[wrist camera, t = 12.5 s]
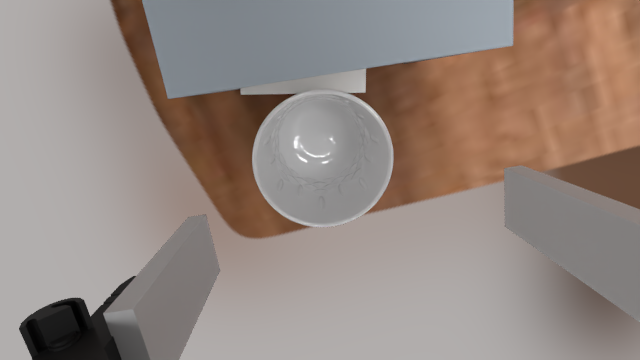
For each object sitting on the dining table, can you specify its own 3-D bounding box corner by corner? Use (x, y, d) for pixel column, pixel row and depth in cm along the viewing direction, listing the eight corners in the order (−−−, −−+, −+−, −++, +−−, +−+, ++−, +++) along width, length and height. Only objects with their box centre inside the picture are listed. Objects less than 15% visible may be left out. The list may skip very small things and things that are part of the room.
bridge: (214, 8, 26) (126, -60, 13) (413, -23, 26) (513, -122, 13) (231, 90, 28) (168, 99, 15) (418, 61, 28) (512, 45, 15)
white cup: (250, 128, 29) (222, 153, 19) (325, 64, 27) (334, 56, 18) (311, 198, 30) (313, 252, 21) (383, 141, 29) (421, 171, 20)
